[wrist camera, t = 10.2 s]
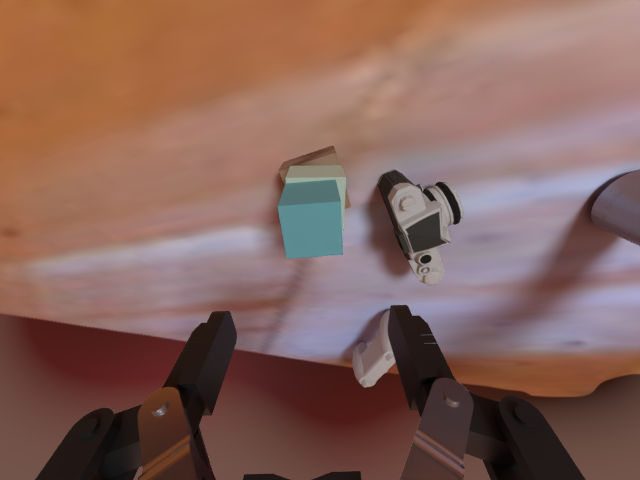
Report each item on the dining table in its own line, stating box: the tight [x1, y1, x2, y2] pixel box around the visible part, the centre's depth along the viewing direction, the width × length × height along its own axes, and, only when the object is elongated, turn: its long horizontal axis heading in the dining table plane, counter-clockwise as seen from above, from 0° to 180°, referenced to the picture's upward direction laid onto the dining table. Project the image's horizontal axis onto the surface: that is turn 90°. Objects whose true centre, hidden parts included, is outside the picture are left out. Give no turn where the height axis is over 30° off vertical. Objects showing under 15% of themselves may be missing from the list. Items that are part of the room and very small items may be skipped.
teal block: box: [277, 179, 343, 259], centre depth 23 cm, size 5×5×6 cm
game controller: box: [353, 310, 396, 387], centre depth 45 cm, size 14×4×10 cm, turn 154°
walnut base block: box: [279, 146, 351, 209], centre depth 32 cm, size 7×7×5 cm
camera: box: [378, 169, 463, 285], centre depth 33 cm, size 16×9×10 cm, turn 26°
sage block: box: [285, 165, 346, 231], centre depth 28 cm, size 6×6×5 cm
